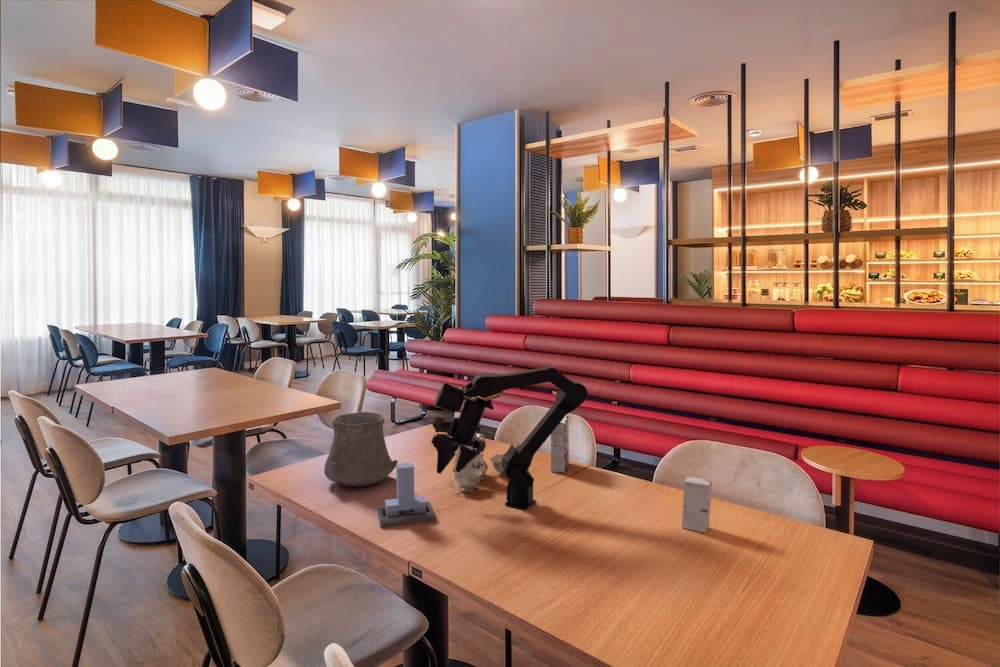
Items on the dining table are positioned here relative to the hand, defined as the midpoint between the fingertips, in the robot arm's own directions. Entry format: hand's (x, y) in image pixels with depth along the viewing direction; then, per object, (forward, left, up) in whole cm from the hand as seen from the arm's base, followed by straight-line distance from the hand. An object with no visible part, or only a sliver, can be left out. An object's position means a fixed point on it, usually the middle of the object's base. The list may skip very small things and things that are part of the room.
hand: (447, 472), depth 159 cm
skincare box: (-60, -22, -10) cm, 65 cm away
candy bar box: (-11, -47, -10) cm, 49 cm away
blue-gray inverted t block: (+6, +11, -10) cm, 16 cm away
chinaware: (+6, -24, -10) cm, 27 cm away
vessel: (+35, -4, -10) cm, 36 cm away
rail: (+6, +11, -10) cm, 16 cm away
